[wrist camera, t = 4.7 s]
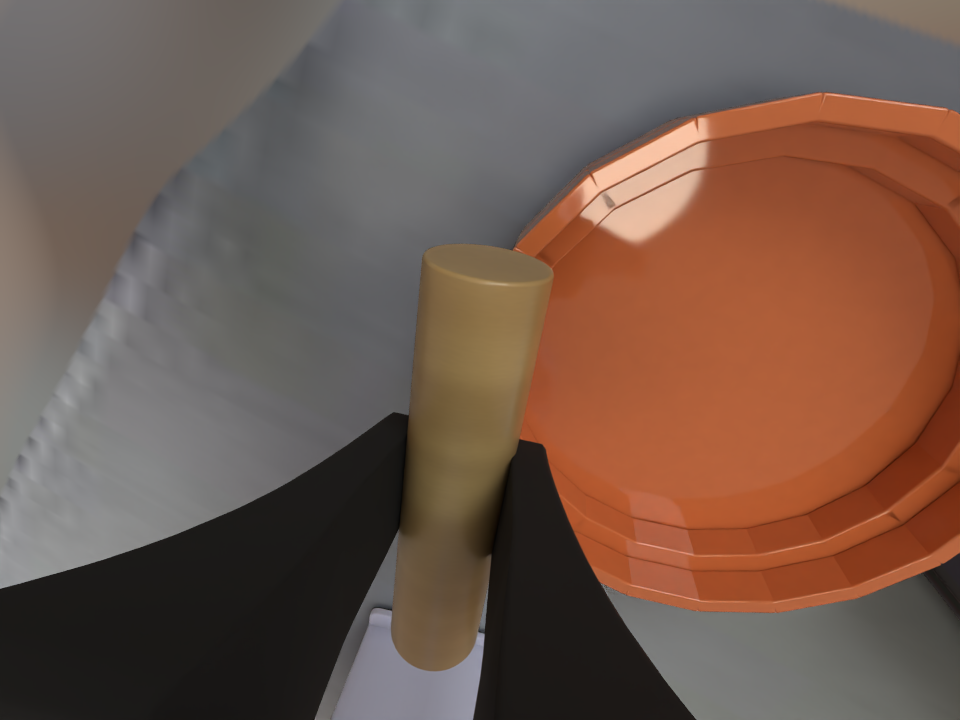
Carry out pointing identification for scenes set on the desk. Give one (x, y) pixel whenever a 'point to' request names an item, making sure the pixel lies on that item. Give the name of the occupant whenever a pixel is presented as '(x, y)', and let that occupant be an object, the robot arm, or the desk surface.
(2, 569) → the desk surface
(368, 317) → the desk surface
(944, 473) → the bowl
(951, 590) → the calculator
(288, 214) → the desk surface
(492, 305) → the cylinder
